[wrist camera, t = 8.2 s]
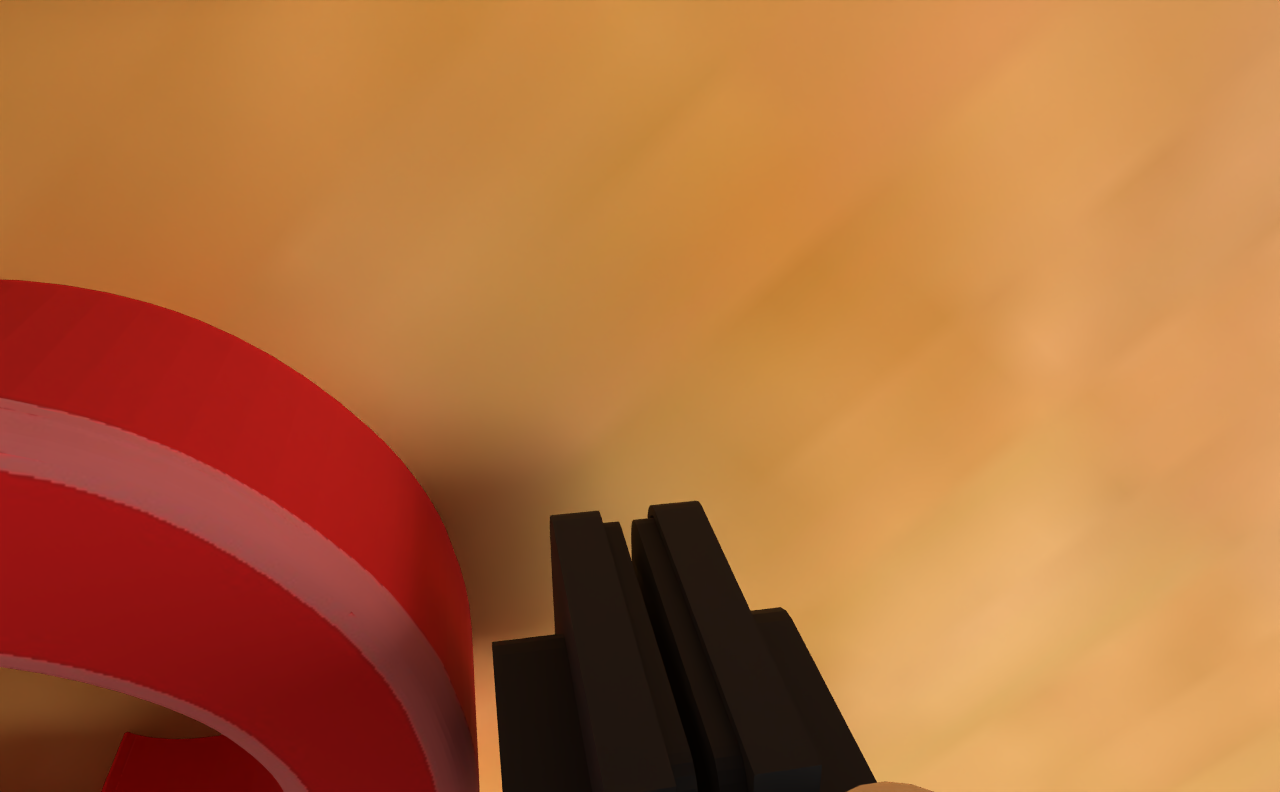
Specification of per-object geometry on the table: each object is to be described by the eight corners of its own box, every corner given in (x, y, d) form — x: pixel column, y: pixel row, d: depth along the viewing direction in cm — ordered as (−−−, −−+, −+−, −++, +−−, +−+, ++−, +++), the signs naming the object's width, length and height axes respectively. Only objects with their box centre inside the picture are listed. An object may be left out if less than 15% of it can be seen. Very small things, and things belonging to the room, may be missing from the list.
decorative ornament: (-155, 65, 9) (-437, 118, 6) (621, 582, 13) (673, 763, 10) (-604, 754, 11) (-981, 1044, 8) (194, 1020, 15) (135, 1278, 12)
